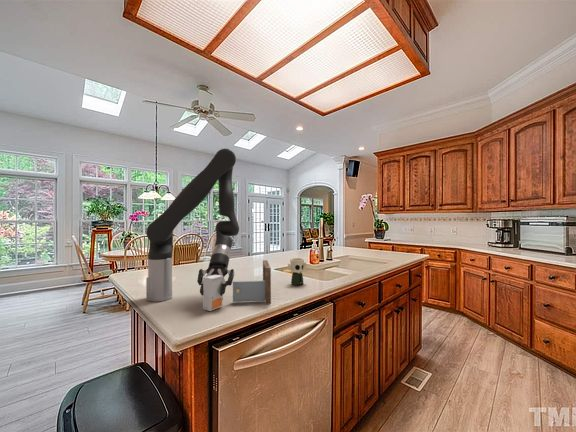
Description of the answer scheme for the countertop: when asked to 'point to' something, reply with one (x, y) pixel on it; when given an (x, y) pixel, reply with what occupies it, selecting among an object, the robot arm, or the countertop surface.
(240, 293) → the door leaf
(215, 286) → the skincare box
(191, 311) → the countertop surface
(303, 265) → the character mug
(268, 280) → the door frame
